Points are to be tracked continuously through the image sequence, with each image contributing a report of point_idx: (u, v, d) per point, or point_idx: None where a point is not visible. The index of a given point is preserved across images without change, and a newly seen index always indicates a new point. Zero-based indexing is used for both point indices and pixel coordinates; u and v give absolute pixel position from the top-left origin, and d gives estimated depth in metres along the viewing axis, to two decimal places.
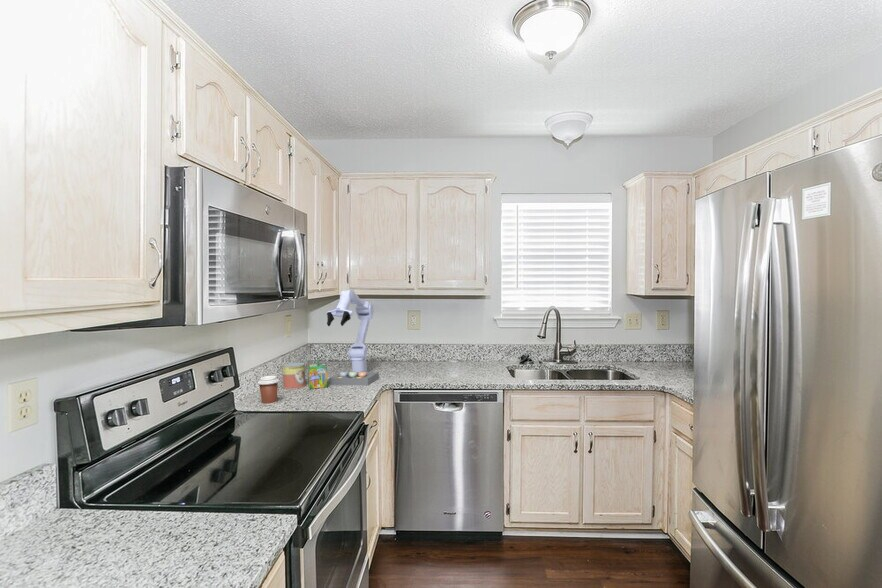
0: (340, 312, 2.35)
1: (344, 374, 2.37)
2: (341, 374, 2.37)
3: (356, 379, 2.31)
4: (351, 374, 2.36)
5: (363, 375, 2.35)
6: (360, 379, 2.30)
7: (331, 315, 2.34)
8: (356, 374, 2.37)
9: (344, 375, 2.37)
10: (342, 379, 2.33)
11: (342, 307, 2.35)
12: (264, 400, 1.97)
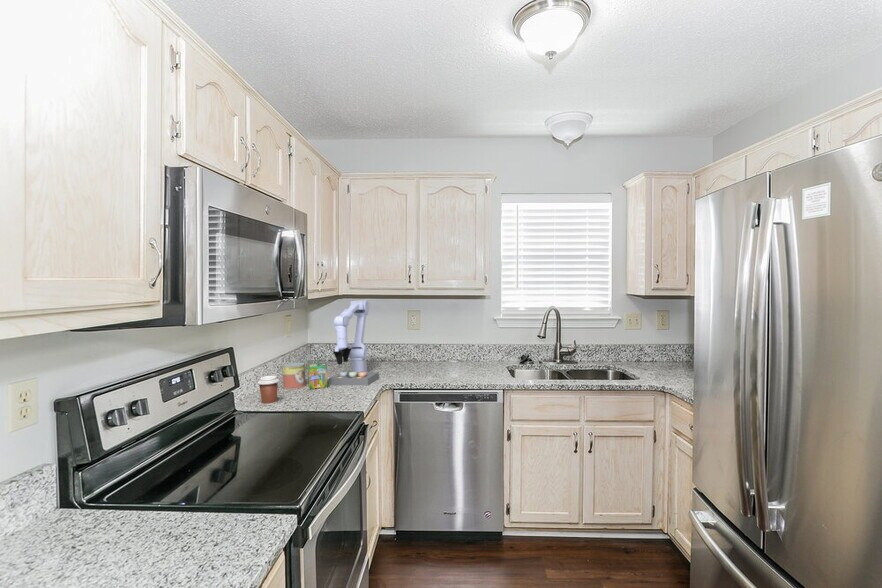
0: None
1: (344, 374, 2.37)
2: (341, 374, 2.37)
3: (356, 379, 2.31)
4: (351, 374, 2.36)
5: (363, 375, 2.35)
6: (360, 379, 2.30)
7: (343, 350, 2.42)
8: (356, 374, 2.37)
9: (344, 375, 2.37)
10: (342, 379, 2.33)
11: None
12: (264, 400, 1.97)
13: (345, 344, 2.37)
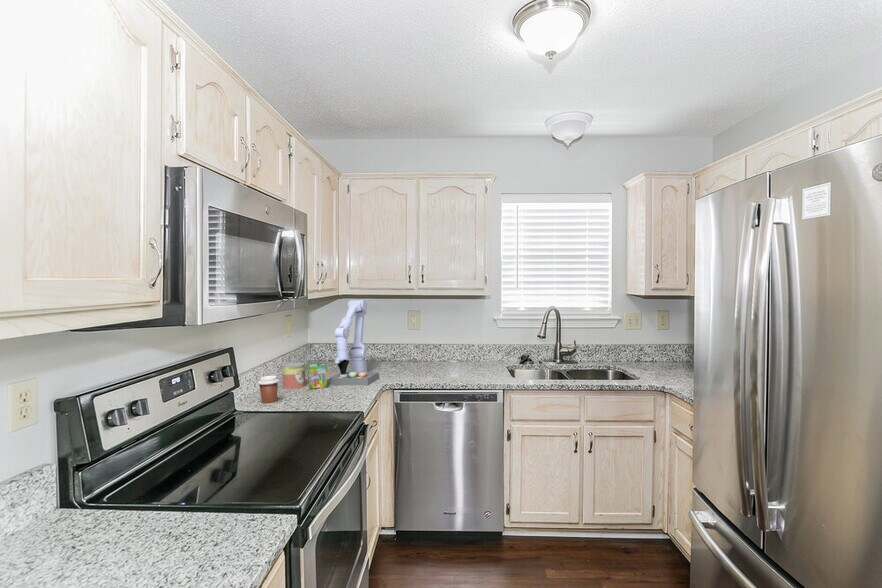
0: None
1: (344, 376, 2.37)
2: (341, 376, 2.37)
3: (356, 379, 2.31)
4: (351, 374, 2.36)
5: (363, 375, 2.35)
6: (360, 379, 2.30)
7: None
8: (356, 374, 2.37)
9: None
10: (342, 379, 2.33)
11: (337, 355, 2.37)
12: (264, 400, 1.97)
13: (345, 356, 2.37)
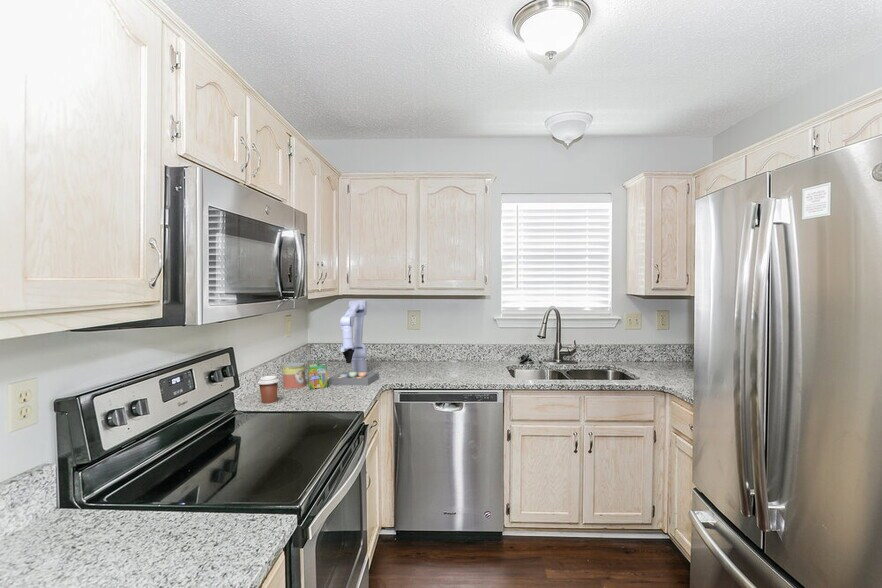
0: None
1: (344, 376, 2.37)
2: (341, 376, 2.37)
3: (356, 379, 2.31)
4: (351, 374, 2.36)
5: (363, 375, 2.35)
6: (360, 379, 2.30)
7: None
8: (356, 374, 2.37)
9: None
10: (342, 379, 2.33)
11: None
12: (264, 400, 1.97)
13: (351, 344, 2.36)
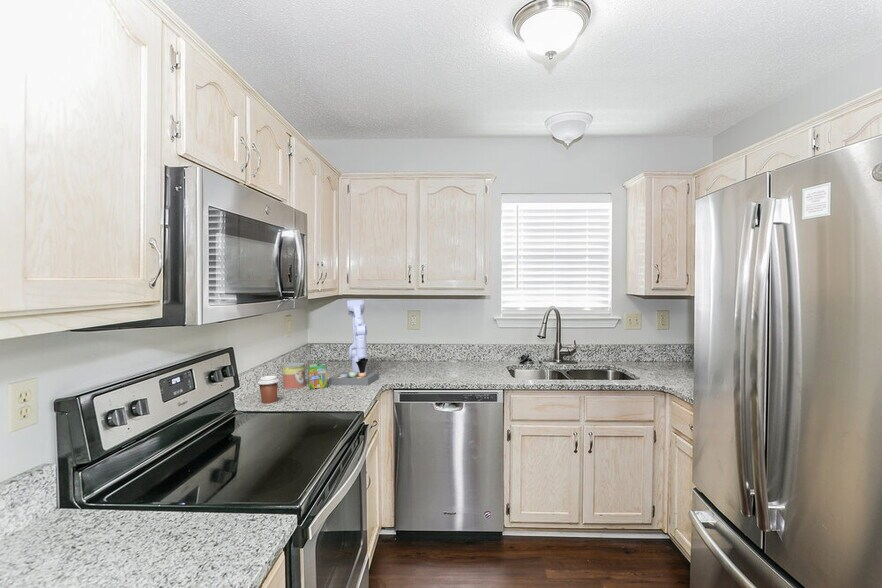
0: None
1: (344, 376, 2.37)
2: (341, 376, 2.37)
3: (356, 379, 2.31)
4: (351, 374, 2.36)
5: (363, 375, 2.35)
6: (360, 379, 2.30)
7: None
8: (356, 374, 2.37)
9: None
10: (342, 379, 2.33)
11: (356, 353, 2.35)
12: (264, 400, 1.97)
13: (364, 354, 2.34)
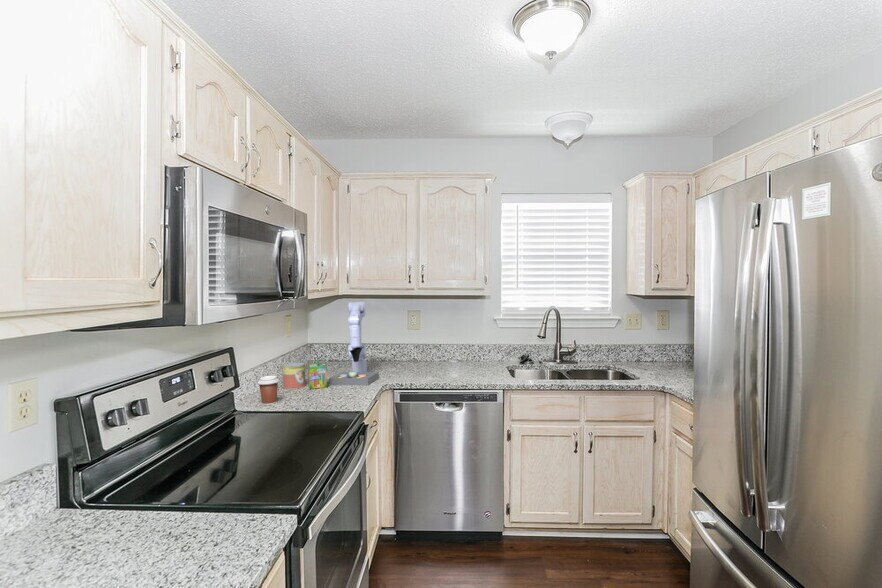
0: None
1: (344, 376, 2.37)
2: (341, 376, 2.37)
3: (356, 379, 2.31)
4: (351, 374, 2.36)
5: None
6: (360, 379, 2.30)
7: None
8: (356, 374, 2.37)
9: None
10: (342, 379, 2.33)
11: (350, 343, 2.41)
12: (264, 400, 1.97)
13: (358, 343, 2.40)
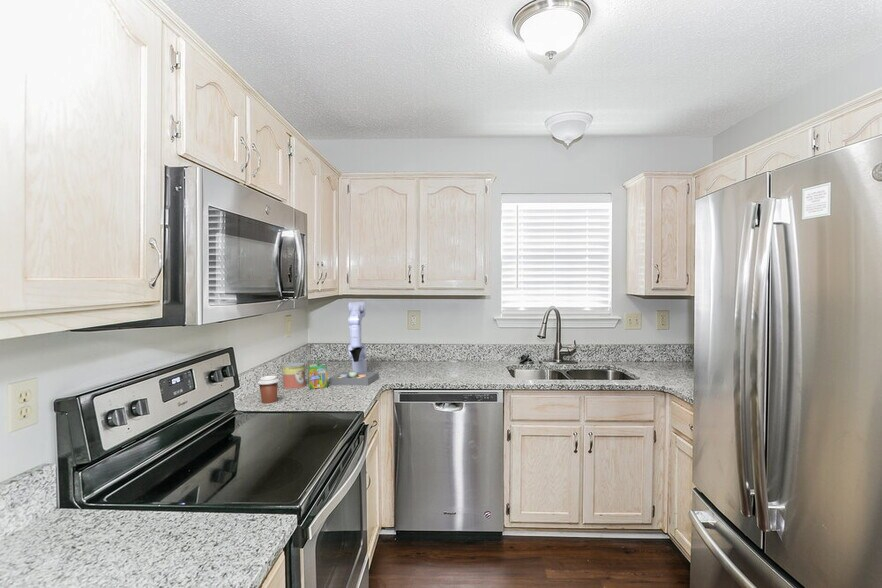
0: None
1: (344, 376, 2.37)
2: (341, 376, 2.37)
3: (356, 379, 2.31)
4: (351, 374, 2.36)
5: None
6: (360, 379, 2.30)
7: None
8: (356, 374, 2.37)
9: None
10: (342, 379, 2.33)
11: (350, 343, 2.41)
12: (264, 400, 1.97)
13: (358, 343, 2.40)
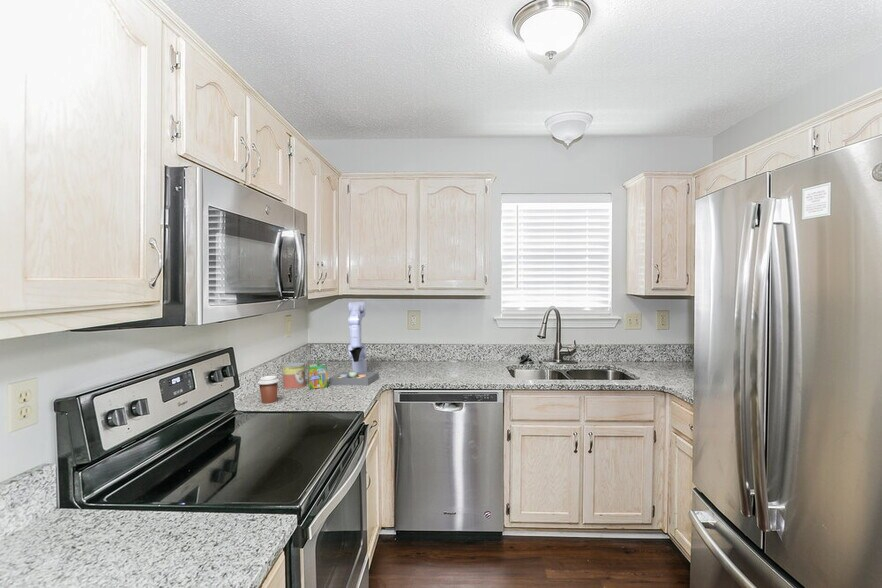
0: None
1: (344, 376, 2.37)
2: (341, 376, 2.37)
3: (356, 379, 2.31)
4: (351, 374, 2.36)
5: None
6: (360, 379, 2.30)
7: None
8: (356, 374, 2.37)
9: None
10: (342, 379, 2.33)
11: (350, 343, 2.41)
12: (264, 400, 1.97)
13: (358, 343, 2.40)
